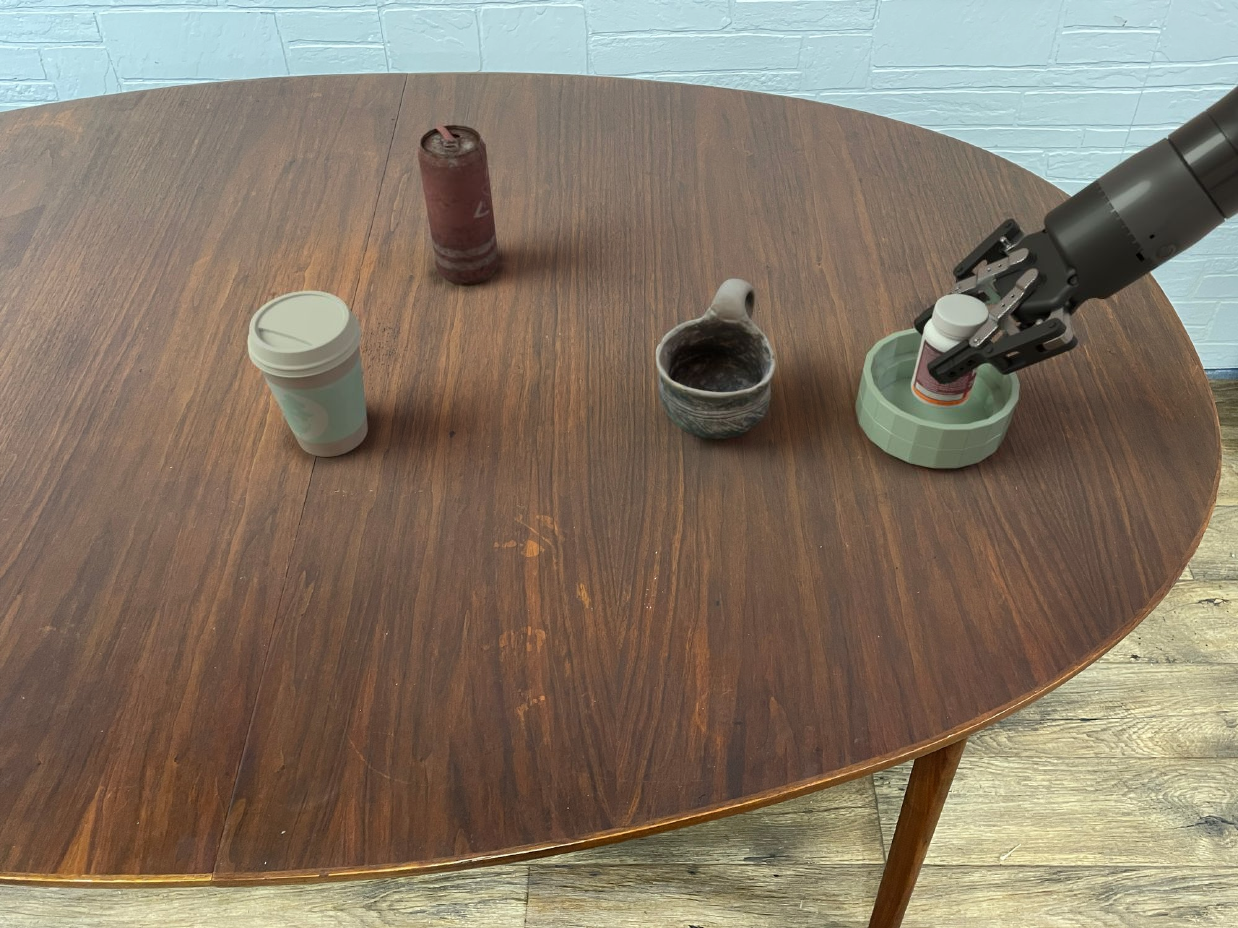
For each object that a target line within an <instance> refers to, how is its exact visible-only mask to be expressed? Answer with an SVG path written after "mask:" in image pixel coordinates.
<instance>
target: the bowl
mask: <svg viewBox="0 0 1238 928" xmlns="http://www.w3.org/2000/svg"><path fill="white" fill-rule="evenodd" d="M921 339H922V335H921V334H920V333H919V332H918V331H917V330H916V329H915V327H912V328H909V329H904V330H900V331H896V332H893V333H891V334H888V335H887V336H885V337H884V338H882V339H880V340H878V341H876V343H875V344H874V345H873V346H872V347H871V349H870V350H869V351H868V352H867V354H866V356H865V360H864V364H863V367H862V373H861V378H860V381H859V387H858V391H857V397H856V400H855V406H854V409H855V412H856V417H857V422H858V424H859V426H860V428H861V429H862V430H863V432H864V434H865V435H866V436H867V437H868V439H869V440H870V441H871V442H872V443H874V444H875V445H876V446H878V447H879V448H880V449H881V450H882V451H883V452H885V453H887V454H889V455H891V456H893V457H895V458H897V459H899V460H901V461H904V462H906V463H907V464H912V465H916V466H921V467H926V468H931V469H959V468H962V467H966V466H970V465H974V464H978V463H980V462H982V461H983V460H985V459H987V458H988V457H990V456H991V455H992V454H994V453H995V452H996V451H997V450H998V448H999V447H1000V446H1001V443H1003V441H1004V439H1005V437H1006V435H1007V432H1008V429H1009V426H1010V424H1011V422H1012V418H1013V415H1014V413H1015V409H1016V407H1017V404H1018V401H1019V397H1020V387H1021V386H1020V385H1021V383H1020V380H1019V378H1018V375H1017V373H1016V371H1015V372H1013V373H1010V374H1007V375H1002V374H1001V373H1000V372H999V371H998V370H997V369H996V368H995V367H993V366H992V365H991V364H989V363H985V364H982V365H980V366H979V368H978V371H977V374H976V377H975V381H974V384H973V387H972V391H971V394H970V397H969V399H968V401H967V402H966V403H965V404H963V405H962V406H960V407H957V408H954V409H938V408H933V407H930V406H927V405H925V404H923V403H922V402H920V401H919V400H918V399H917V398H916V397H915V396H914V395H913V393H912V390H911V381H912V376H913V372H914V368H915V364H916V359H917V355H918V351H919V347H920V343H921Z"/></svg>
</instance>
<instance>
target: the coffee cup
mask: <svg viewBox="0 0 1238 928" xmlns="http://www.w3.org/2000/svg"><path fill="white" fill-rule="evenodd" d="M248 329H249V331H248V332H249V333H248V336H247V349H248V356H249V359H250V360H251V363H253V364H254V365H255V367H257V368H258V369H260V371H261V373H262V375H263V378H264V379H265V381H266V383H267V385H268V387H269V389H270V391H271V393H272V394H273V397H274V399H275V400H276V402H277V404H278V406H279V408H280V411H281V412H282V414H283V417H284V418H285V420H286V422H287V423H288V426H289V427H290V430H291V432H292V434H293V435H294V437H295V439H296V440H297V443H298V445H299V446H300V448H301V449H302V451H305V452H306V453H307V454H310V455H312V456H315V457H322V458H331V457H338V456H342V455H343V454H346V453H349V452H350V451H352V450H354V449H356V448H357V447H358V446H359V445H360V444H361V443H363V441H364V439H365V438H366V437H367V434H368V430H369V425H368V417H367V415H368V414H367V404H366V396H365V386H364V385H365V384H364V377H363V375H364V374H363V367H362V357H361V348H360V343H361V341H362V336H363V335H362V334H363V333H362V327H361V324H360V322H359V321H358V319H357V316H356V314H355V313H354V312H353V311H352V310H351V309H350V308H349V307H348V305H347V304H346V303H345V301H344V300H342V298H340V297H339V296H337V295H335V294H332V293H329V292H326V291H320V290H299V291H294V292H289V293H286V294H282V295H280V296H278V297H275V298H273V299H272V300H269V301H268V302H266V303H265V304H264V305H262V306H261V307H260V308H259V309H258V310H257V311H256V312H255V313H254V314H253V316H252V317H251V320H250V322H249V327H248Z"/></svg>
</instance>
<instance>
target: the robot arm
mask: <svg viewBox="0 0 1238 928" xmlns="http://www.w3.org/2000/svg"><path fill="white" fill-rule="evenodd" d="M1237 214H1238V84H1237V85H1236V86H1235V87H1234V88H1233V89H1231V90H1230V91H1229V92H1228V93H1227V94H1225V95H1224V96H1223V97H1221V98H1220V99H1219V100H1218V101H1216V102H1215V103H1213V104H1212V105H1210V106H1209V107H1207V108H1205V110H1203V111H1202V112H1200V113H1199V114H1197V115H1196V116H1194V117H1193V118H1191V119H1190V120H1188V121H1186V122H1185V123H1183V124H1182V125H1181V126H1179V127H1178V128H1176V129H1175V130H1174V131H1172V132H1171V133H1169V134H1167V137H1163V138H1162V139H1160V140H1158V141H1156V142H1155V143H1153V144H1151V145H1148V146H1147V147H1145V148H1143V149H1141V150H1140V151H1138V152H1136V153H1134V154H1132V155H1131V156H1129V157H1127V158H1126V159H1125V160H1123V161H1122V162H1121V163H1119V164H1117V165H1116V166H1115V167H1113V168H1112V169H1110V170H1108V171H1107V172H1105V173H1104V174H1102V175H1101V176H1100V177H1099V178H1098V177H1097V178H1096V179H1095V180H1093V181H1092V182H1091V183H1090V184H1088V185H1087V186H1084V188H1082V189H1080V190H1079V191H1078V192H1076V193H1075V194H1074V195H1072V196H1071V197H1068V199H1066V200H1065V201H1063V202H1062V203H1060V204H1059V205H1057V206H1055V207H1054V208H1053V209H1051V210H1050V211H1049V212H1047V213H1046V214H1045V216H1044V219H1043V225H1044V228H1042V229H1040V230H1038V231H1036V232H1032V233H1029V234H1028V233H1026V231H1025V230H1024V229H1023V228H1022V227H1021V225H1020V224H1018V222H1017V221H1016V220H1015V219H1014V218H1008V219H1005V220H1004V221H1003V222H1002V223H1001V224H1000V225H999V226H998V227H996V229H995V230H994V231H993V232H992V233H990V234H989V235H988V236H987V237H986V238H985V239H984V240H982V241H981V242H980V244H979V245H977V246H976V247H975V248H974V249H973V250H972V251H971V252H970V253H968V254H967V256H965V257H964V258H963V259H962V261H960V262H959V263H958V264H957V265H956V266H955V267H954V268H953V270H952V275H953V276H954V277H955V283H954V284H953V285H952V287H951V288H950V292H949V293H948V294H947V295H951V294H963V295H968V296H972V297H974V298H976V299H978V300H980V301H982V302H983V303H984V304H985V305H986V306H987V307H989V306H991V305H995V306H994V307H993V308H992V309H991V310H989V317H988V321H987V322H986V323H985V324H984V325H983V326H982V327H981V328H980V329H979V330H978V331H977V332H976V333H975V334H974V335H973V336H972V337H971V339H970V341H968V340H967V339H965V340H963V341H962V342H960V343H959V344H957V345H955V346H954V347H952V348H951V349H949V350H948V351H946V352H945V353H943V354H941V355H940V356H938V357H937V358H935V359H934V360H932V361H931V362H929V363H928V364H927V369H928V372H929V374H930V375H931V376H932V377H933V378H934V379H935V380H936V381H937V382H938V383H939V384H949V383H952V382H955V381H956V380H958V379H959V378H960V377H963V376H964V375H966V374H967V373H969V372H971V371H972V370H974V369H975V368H977V367H979V366H980V365H982V364H985V363H989V364H991V365H992V366H993V367H995V368H996V369H997V370H998V371H999V372H1000V373H1001V374H1002V375H1007V374H1010V373H1013V372H1015V373H1016V372H1017V371H1020V370H1022V369H1026V368H1028V367H1031V366H1034V365H1036V364H1038V363H1041V362H1044V361H1046V360H1048V359H1051V358H1054V357H1056V356H1059V355H1062V354H1065V353H1066V352H1069V351H1072V350H1073V349H1075V348H1076V347H1077V346H1078V344H1079V339H1078V338H1077V336H1076V335H1075V334H1074V333H1073V331H1072V329H1071V316H1073V315H1074V314H1075V313H1076V312H1077V311H1078V309H1079V308H1080V307H1081V306H1082V305H1084V303H1086V302H1087V301H1088V300H1091V299H1098V300H1107V299H1109V298H1110V297H1112V296H1114V295H1115V294H1117V293H1118V292H1120V291H1122V290H1124V289H1125V288H1127V287H1128V286H1130V285H1131V284H1134V283H1135V282H1137V281H1138V280H1139V279H1141V278H1143V277H1144V276H1146V275H1148V274H1149V273H1151V272H1152V271H1154V270H1156V269H1157V268H1159V267H1160V266H1163V265H1164V264H1166V263H1167V262H1169V261H1170V260H1172V259H1174V258H1176V257H1177V256H1179V255H1180V254H1182V253H1183V252H1185V251H1186V250H1188V249H1190V248H1192V247H1193V246H1194V245H1196V244H1197V243H1198V242H1200V241H1201V240H1203V239H1204V238H1205V237H1206V236H1208V234H1210V233H1211V232H1212V231H1214V230H1215V229H1216V228H1218V227H1219V226H1220V225H1222V224H1223V223H1225V222H1226V220H1230V219H1231V218H1233V217H1235V216H1236V215H1237ZM983 261H986V264H985V265H984V266H982V267H980V268H977V267H978V266H979V265H980V264H981V263H982V262H983ZM975 268H977V270H976V273H975V272H974V271H973V270H974V269H975ZM980 291H981V292H980ZM935 304H936V302H935V303H934V304H932V305H930V306H929V307H927V308H926V309H924V310H923V311H922V313H920V314H919V315H918V316H916V318H914V320H913V325H914V328H915V329H916V330H917V331H918V332H919V333H920V334H921V335H923V330H924V327H925V325H926V323H927V322H928V321H929V320H930V319H931V318H932V315H933V311H934V308H935ZM1010 317H1011V318H1012V319H1013V320H1014V321H1015V322H1016V323H1019V324H1018V325H1014V324H1013V322H1011V321H1010ZM1000 331H1002V334H1001V336H999V338H998V339H997V340H995V341H994V342H993V341H992V339H993V338H994V337H995V336H997V334H998V333H1000ZM1012 353H1014V354H1012ZM1010 354H1012V355H1010Z"/></svg>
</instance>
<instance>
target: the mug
mask: <svg viewBox="0 0 1238 928" xmlns="http://www.w3.org/2000/svg"><path fill="white" fill-rule="evenodd" d="M755 305H756V293H755V289H754V287H753V286H752V284H751V283H749V282H748V281H746V280H743V279H741V278H729V279H726V280H725V281H724V282H723V283H722V284H721V285H720V286H719V288H718V290H717V291H716V293H715V295H714V298H713V300H712V302H711V305H710V307H708V309H706V311H705V313H704V314H703V316H701V317H699V318H696V319H691V320H688V321H685V322H682V323H680V324H678V325H676V326H675V327H674V328H672V329H671V330H670V331H668V332H666V334H665V335H664V336H663V337H662V339H661V342H660V343H658V345H657V347H656V349H655V364H656V369H657V373H658V396H659V399H660V402H661V405H662V408H663V410H664V411H665V413H666V416H668V418H669V419H670V420H671V421H672V422H673V423H674V424H675V425H676V426H677V427H679V428H680V429H681V430H683V431H684V432H686V433H688V434H690V435H692V436H694V437H698V438H700V439H701V438H702V439H709V440H724V439H731V438H735V437H738V436H742V435H744V434H745V433H747V432H749V431H750V430H751V429H753V428H755V426H756V425H758V424H759V423H760V422H761V421H762V420H763V418H764V417H765V415H766V414H767V412H768V410H769V407H770V404H771V402H770V401H771V399H772V398H771V397H772V392H771V381H772V378H773V377H774V374H775V372H776V357H775V353H774V350H773V348H772V345H771V342H770V340H769V339H768V337H767V336H766V335H765V333H763V331H762V330H761V329H760V328H759V327H758V326H757V325H756V324H755V322H753V320H752V319H753V316H754V315H753V314H754V310H755Z"/></svg>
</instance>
